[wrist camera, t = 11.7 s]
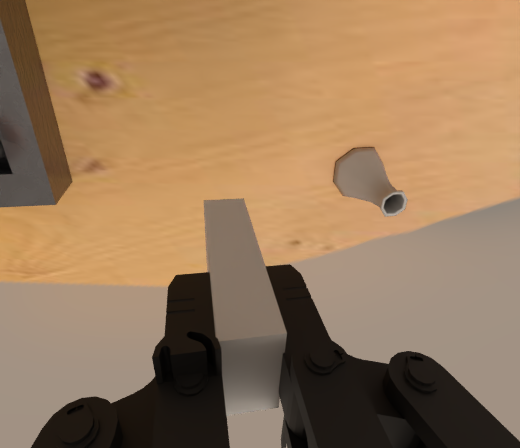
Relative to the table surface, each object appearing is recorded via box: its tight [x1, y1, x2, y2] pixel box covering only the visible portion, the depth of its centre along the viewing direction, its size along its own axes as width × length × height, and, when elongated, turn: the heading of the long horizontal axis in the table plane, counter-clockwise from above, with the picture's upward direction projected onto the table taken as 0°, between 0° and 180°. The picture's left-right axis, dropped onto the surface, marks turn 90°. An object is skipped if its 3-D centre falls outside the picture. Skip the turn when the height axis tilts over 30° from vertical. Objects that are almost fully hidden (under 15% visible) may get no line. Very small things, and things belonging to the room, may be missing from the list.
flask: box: [333, 147, 408, 216], centre depth 43 cm, size 7×7×10 cm
